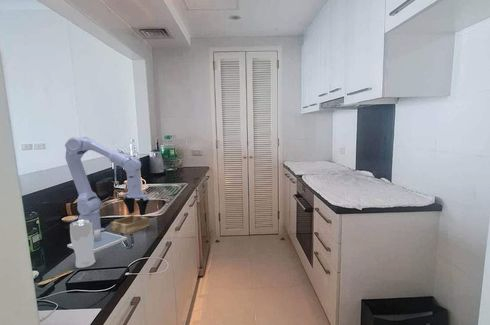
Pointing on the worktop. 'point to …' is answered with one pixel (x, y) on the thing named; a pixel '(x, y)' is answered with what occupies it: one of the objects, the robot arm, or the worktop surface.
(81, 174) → the robot arm
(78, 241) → the beer glass
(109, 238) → the post stand
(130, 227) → the wood collar
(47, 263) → the worktop surface
